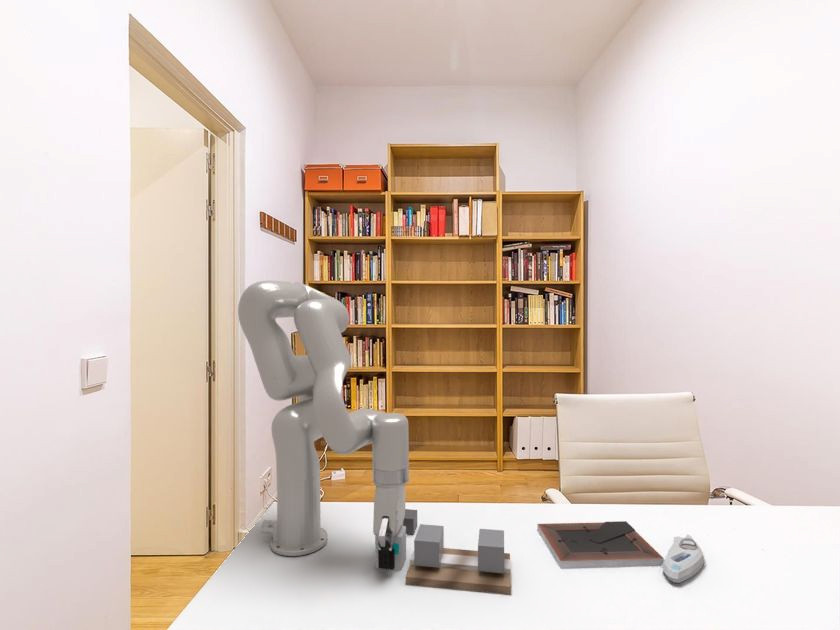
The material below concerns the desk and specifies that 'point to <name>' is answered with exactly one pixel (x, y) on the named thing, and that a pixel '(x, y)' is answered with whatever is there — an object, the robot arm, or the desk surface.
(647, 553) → the picture frame
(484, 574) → the rail board
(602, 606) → the desk surface
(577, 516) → the desk surface
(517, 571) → the desk surface
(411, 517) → the grey rectangular block
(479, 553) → the mounted modules
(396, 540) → the block
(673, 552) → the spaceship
